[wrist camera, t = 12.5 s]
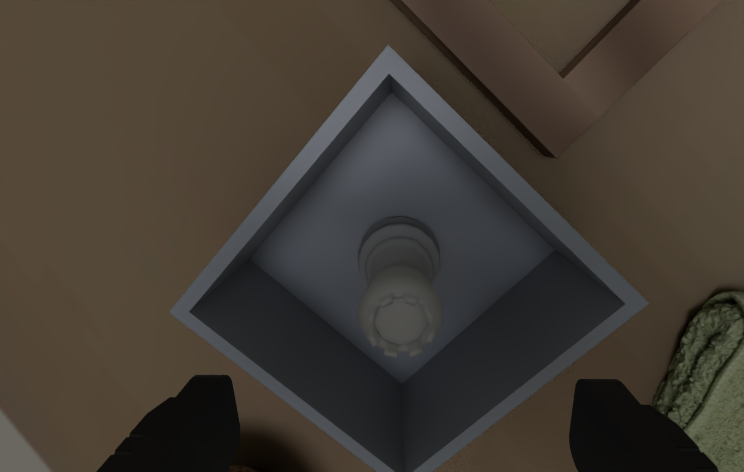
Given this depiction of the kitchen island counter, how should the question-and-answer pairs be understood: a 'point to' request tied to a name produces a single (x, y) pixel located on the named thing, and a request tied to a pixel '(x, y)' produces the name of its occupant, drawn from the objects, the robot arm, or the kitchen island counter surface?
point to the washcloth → (710, 382)
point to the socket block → (535, 75)
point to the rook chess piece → (399, 286)
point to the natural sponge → (240, 469)
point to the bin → (453, 284)
